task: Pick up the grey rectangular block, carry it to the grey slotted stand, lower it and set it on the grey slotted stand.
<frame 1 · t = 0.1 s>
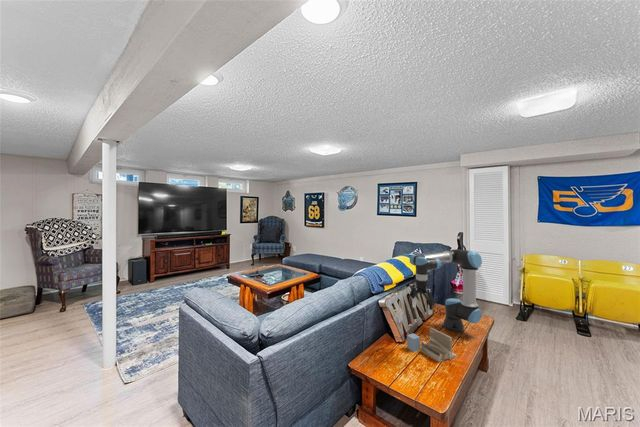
hand: (421, 310, 175), 28 cm above the table, fingers open, 13 cm apart
grey slotted stand: (440, 353, 172), on the table
grey rectangular block: (413, 348, 178), on the table
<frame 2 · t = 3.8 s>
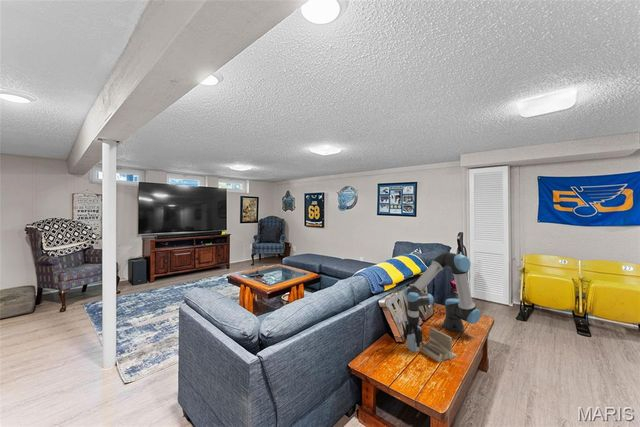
hand: (413, 348, 178), 0 cm above the table, fingers closed on grey rectangular block, 6 cm apart
grey rectangular block: (413, 348, 178), on the table, touching gripper
when the fingers open (5 cm above the table, at t = 9.0 s): grey rectangular block drops 1 cm, resting on grey slotted stand.
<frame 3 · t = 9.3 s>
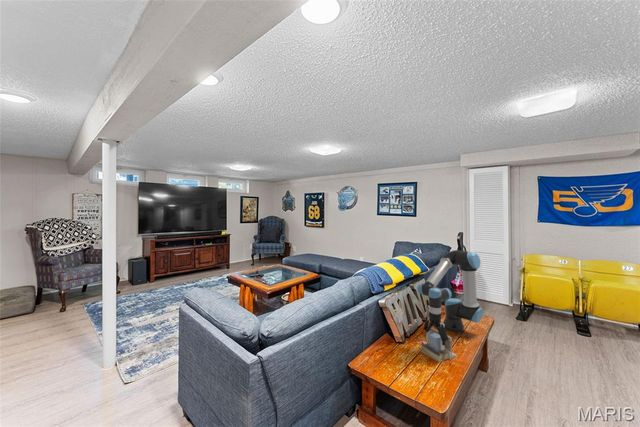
hand: (435, 345, 170), 6 cm above the table, fingers open, 10 cm apart
grey rectangular block: (435, 348, 170), point 4 cm above the table, touching grey slotted stand
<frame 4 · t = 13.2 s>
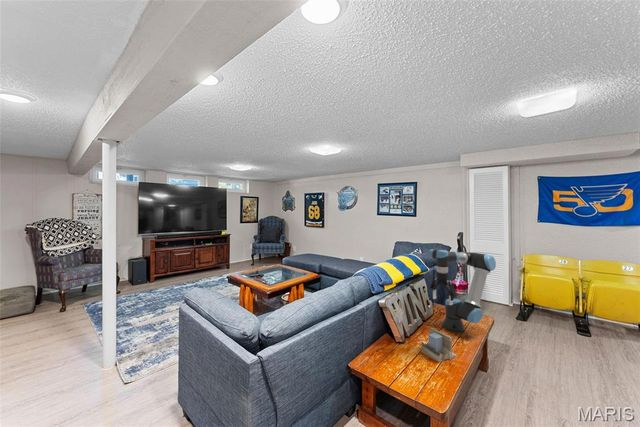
hand: (442, 301, 183), 31 cm above the table, fingers open, 13 cm apart
nothing on the table moved.
at the end: grey rectangular block inside the target area on the grey slotted stand (0.4 cm from its centre), point 4.0 cm above the grey slotted stand's base; grey rectangular block tilted 0°; grey rectangular block touching grey slotted stand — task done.
